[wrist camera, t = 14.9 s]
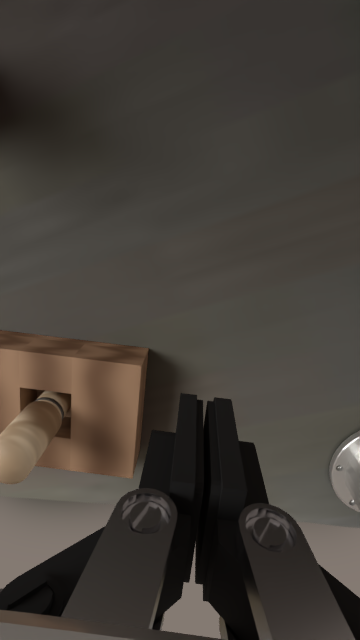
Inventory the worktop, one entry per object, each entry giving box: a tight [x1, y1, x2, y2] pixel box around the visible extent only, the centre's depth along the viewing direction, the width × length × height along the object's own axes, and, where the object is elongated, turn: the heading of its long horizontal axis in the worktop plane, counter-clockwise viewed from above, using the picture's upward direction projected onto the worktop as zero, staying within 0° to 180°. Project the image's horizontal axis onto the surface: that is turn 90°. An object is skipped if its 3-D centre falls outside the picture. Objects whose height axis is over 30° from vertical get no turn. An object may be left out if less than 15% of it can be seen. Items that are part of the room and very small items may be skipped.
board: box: [0, 330, 149, 478], centre depth 39 cm, size 20×14×5 cm
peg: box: [0, 391, 71, 484], centre depth 35 cm, size 4×4×12 cm
